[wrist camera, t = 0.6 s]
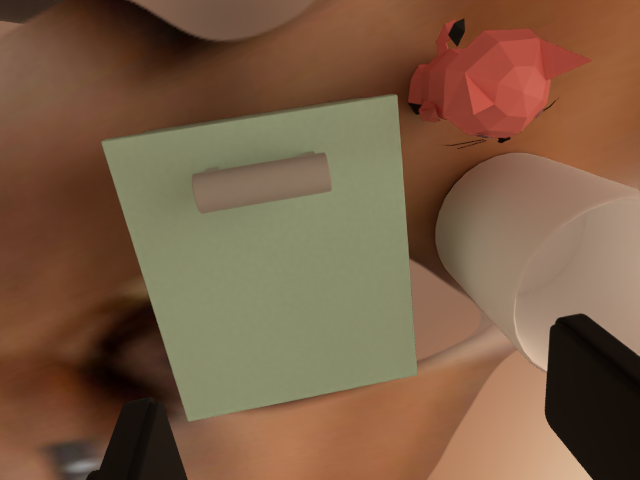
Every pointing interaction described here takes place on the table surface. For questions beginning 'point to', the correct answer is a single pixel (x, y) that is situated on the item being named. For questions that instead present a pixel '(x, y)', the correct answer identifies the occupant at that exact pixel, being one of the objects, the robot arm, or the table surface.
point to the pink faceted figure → (489, 80)
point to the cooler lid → (273, 251)
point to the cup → (544, 248)
